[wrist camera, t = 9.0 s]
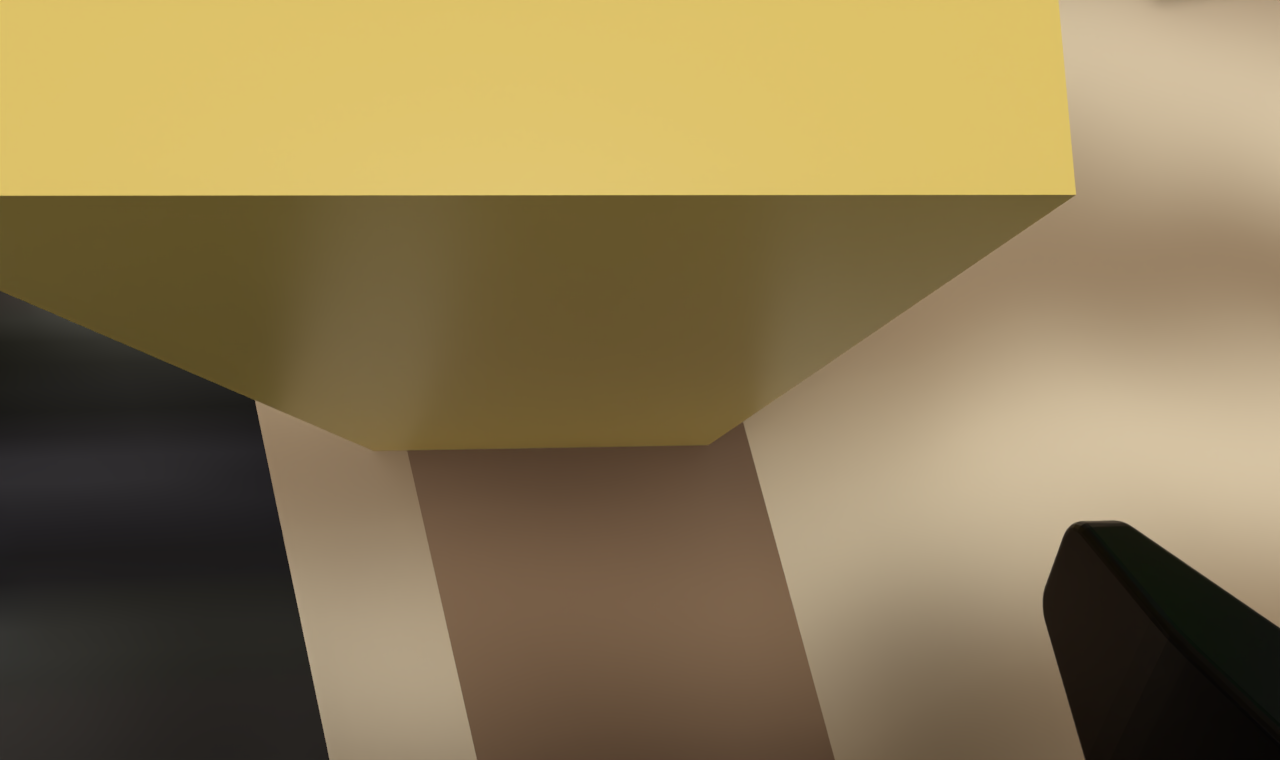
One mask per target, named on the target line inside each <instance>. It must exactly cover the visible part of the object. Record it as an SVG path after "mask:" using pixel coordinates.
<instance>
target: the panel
mask: <svg viewBox="0 0 1280 760" xmlns="http://www.w3.org/2000/svg"><path fill="white" fill-rule="evenodd" d="M1059 11H1060V22H1061V33H1062V44H1063V55H1064V66H1065V77H1066V88H1067V100H1068V111H1069V122H1070V133H1071V144H1072V155H1073V166H1074V177H1075V188H1076V195H1075V196H1074V197H1072V198H1071V199H1069V200H1068V201H1066V202H1065V203H1063V204H1062V205H1060V206H1059V207H1057V208H1056V209H1054V210H1053V211H1051V212H1050V213H1049V214H1047V215H1046V216H1044V217H1043V218H1041V219H1040V220H1038V221H1037V222H1035V223H1034V224H1032V225H1031V226H1029V227H1028V228H1027V229H1025V230H1024V231H1022V232H1021V233H1019V234H1018V235H1016V236H1015V237H1013V238H1012V239H1010V240H1009V241H1007V242H1006V243H1005V244H1003V245H1002V246H1000V247H999V248H997V249H996V250H994V251H993V252H991V253H990V254H988V255H987V256H985V257H984V258H982V259H981V260H980V261H978V262H977V263H975V264H974V265H972V266H971V267H969V268H968V269H966V270H965V271H963V272H962V273H960V274H959V275H958V276H956V277H955V278H953V279H952V280H950V281H949V282H947V283H946V284H944V285H943V286H941V287H940V288H938V289H937V290H936V291H934V292H933V293H931V294H930V295H928V296H927V297H925V298H924V299H922V300H921V301H919V302H918V303H916V304H915V305H913V306H912V307H911V308H909V309H908V310H906V311H905V312H903V313H902V314H900V315H899V316H897V317H896V318H894V319H893V320H891V321H890V322H889V323H887V324H886V325H884V326H883V327H881V328H880V329H878V330H877V331H875V332H874V333H872V334H871V335H869V336H868V337H867V338H865V339H864V340H862V341H861V342H859V343H858V344H856V345H855V346H853V347H852V348H850V349H849V350H847V351H846V352H844V353H843V354H842V355H840V356H839V357H837V358H836V359H834V360H833V361H831V362H830V363H828V364H827V365H825V366H824V367H822V368H821V369H820V370H818V371H817V372H815V373H814V374H812V375H811V376H809V377H808V378H806V379H805V380H803V381H802V382H800V383H799V384H798V385H796V386H795V387H793V388H792V389H790V390H789V391H787V392H786V393H784V394H783V395H781V396H780V397H778V398H777V399H775V400H774V401H773V402H771V403H770V404H768V405H767V406H765V407H764V408H762V409H761V410H759V411H758V412H756V413H755V414H753V415H752V416H751V417H749V418H748V419H746V420H745V421H743V422H742V423H740V424H739V425H737V426H736V427H734V428H733V429H731V430H730V431H729V432H727V433H726V434H724V435H723V436H721V437H720V438H718V439H717V440H715V441H714V442H712V443H711V444H709V445H691V446H634V447H576V448H518V449H460V450H402V451H372V450H370V449H368V448H365V447H363V446H361V445H358V444H356V443H354V442H351V441H349V440H347V439H344V438H342V437H340V436H337V435H335V434H333V433H330V432H328V431H326V430H324V429H321V428H319V427H317V426H314V425H312V424H310V423H307V422H305V421H303V420H300V419H298V418H296V417H293V416H291V415H289V414H286V413H284V412H282V411H279V410H277V409H275V408H272V407H270V406H268V405H265V404H263V403H261V402H258V401H256V400H255V403H256V408H257V413H258V417H259V422H260V427H261V432H262V437H263V441H264V446H265V451H266V456H267V461H268V466H269V470H270V475H271V480H272V485H273V490H274V494H275V499H276V504H277V509H278V514H279V519H280V523H281V528H282V533H283V538H284V543H285V548H286V552H287V557H288V562H289V567H290V572H291V576H292V581H293V586H294V591H295V596H296V601H297V605H298V610H299V615H300V620H301V625H302V629H303V634H304V639H305V644H306V649H307V654H308V658H309V663H310V668H311V673H312V678H313V682H314V687H315V692H316V697H317V702H318V707H319V711H320V716H321V721H322V726H323V731H324V736H325V740H326V745H327V750H328V755H329V760H1085V758H1084V755H1083V751H1082V748H1081V744H1080V741H1079V738H1078V734H1077V731H1076V727H1075V724H1074V720H1073V717H1072V713H1071V710H1070V706H1069V703H1068V700H1067V696H1066V693H1065V689H1064V686H1063V682H1062V679H1061V675H1060V672H1059V669H1058V665H1057V662H1056V658H1055V655H1054V651H1053V648H1052V644H1051V641H1050V637H1049V634H1048V631H1047V627H1046V624H1045V620H1044V615H1043V602H1042V600H1043V592H1044V588H1045V585H1046V582H1047V580H1048V577H1049V574H1050V571H1051V568H1052V566H1053V563H1054V560H1055V557H1056V555H1057V552H1058V549H1059V546H1060V544H1061V541H1062V538H1063V536H1064V533H1065V531H1066V529H1067V528H1068V527H1069V526H1070V525H1072V524H1073V523H1075V522H1078V521H1103V520H1116V521H1122V522H1125V523H1127V524H1129V525H1131V526H1132V527H1134V528H1135V529H1137V530H1138V531H1140V532H1141V533H1143V534H1144V535H1146V536H1147V537H1148V538H1150V539H1151V540H1153V541H1154V542H1156V543H1157V544H1159V545H1160V546H1162V547H1163V548H1165V549H1166V550H1167V551H1169V552H1170V553H1172V554H1173V555H1175V556H1176V557H1178V558H1179V559H1181V560H1182V561H1183V562H1185V563H1186V564H1188V565H1189V566H1191V567H1192V568H1194V569H1195V570H1197V571H1198V572H1200V573H1201V574H1202V575H1204V576H1205V577H1207V578H1208V579H1210V580H1211V581H1213V582H1214V583H1216V584H1217V585H1218V586H1220V587H1221V588H1223V589H1224V590H1226V591H1227V592H1229V593H1230V594H1232V595H1233V596H1234V597H1236V598H1237V599H1239V600H1240V601H1242V602H1243V603H1245V604H1246V605H1248V606H1249V607H1251V608H1252V609H1253V610H1255V611H1256V612H1258V613H1259V614H1261V615H1262V616H1264V617H1265V618H1267V619H1268V620H1269V621H1271V622H1272V623H1274V624H1275V625H1277V626H1278V627H1280V0H1059Z"/></svg>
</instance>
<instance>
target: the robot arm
mask: <svg viewBox="0 0 1280 760" xmlns="http://www.w3.org/2000/svg"><path fill="white" fill-rule="evenodd" d="M1042 602H1043V615H1044V620H1045V624H1046V627H1047V631H1048V634H1049V637H1050V641H1051V644H1052V648H1053V651H1054V655H1055V658H1056V662H1057V665H1058V669H1059V672H1060V675H1061V679H1062V682H1063V686H1064V689H1065V693H1066V696H1067V700H1068V703H1069V706H1070V710H1071V713H1072V717H1073V720H1074V724H1075V727H1076V731H1077V734H1078V738H1079V741H1080V744H1081V748H1082V751H1083V755H1084V758H1085V760H1280V627H1278V626H1277V625H1275V624H1274V623H1272V622H1271V621H1269V620H1268V619H1267V618H1265V617H1264V616H1262V615H1261V614H1259V613H1258V612H1256V611H1255V610H1253V609H1252V608H1251V607H1249V606H1248V605H1246V604H1245V603H1243V602H1242V601H1240V600H1239V599H1237V598H1236V597H1234V596H1233V595H1232V594H1230V593H1229V592H1227V591H1226V590H1224V589H1223V588H1221V587H1220V586H1218V585H1217V584H1216V583H1214V582H1213V581H1211V580H1210V579H1208V578H1207V577H1205V576H1204V575H1202V574H1201V573H1200V572H1198V571H1197V570H1195V569H1194V568H1192V567H1191V566H1189V565H1188V564H1186V563H1185V562H1183V561H1182V560H1181V559H1179V558H1178V557H1176V556H1175V555H1173V554H1172V553H1170V552H1169V551H1167V550H1166V549H1165V548H1163V547H1162V546H1160V545H1159V544H1157V543H1156V542H1154V541H1153V540H1151V539H1150V538H1148V537H1147V536H1146V535H1144V534H1143V533H1141V532H1140V531H1138V530H1137V529H1135V528H1134V527H1132V526H1131V525H1129V524H1127V523H1125V522H1122V521H1116V520H1103V521H1078V522H1075V523H1073V524H1072V525H1070V526H1069V527H1068V528H1067V529H1066V531H1065V533H1064V536H1063V538H1062V541H1061V544H1060V546H1059V549H1058V552H1057V555H1056V557H1055V560H1054V563H1053V566H1052V568H1051V571H1050V574H1049V577H1048V580H1047V582H1046V585H1045V588H1044V592H1043V600H1042Z"/></svg>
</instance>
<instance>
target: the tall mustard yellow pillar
mask: <svg viewBox="0 0 1280 760" xmlns="http://www.w3.org/2000/svg"><path fill="white" fill-rule="evenodd" d="M1075 195H1076V188H1075V177H1074V166H1073V155H1072V144H1071V133H1070V122H1069V111H1068V100H1067V88H1066V77H1065V66H1064V55H1063V44H1062V33H1061V22H1060V11H1059V0H0V291H2V292H4V293H7V294H9V295H11V296H14V297H16V298H18V299H21V300H23V301H25V302H28V303H30V304H32V305H35V306H37V307H39V308H42V309H44V310H46V311H49V312H51V313H53V314H56V315H58V316H60V317H62V318H65V319H67V320H69V321H72V322H74V323H76V324H79V325H81V326H83V327H86V328H88V329H90V330H93V331H95V332H97V333H100V334H102V335H104V336H107V337H109V338H111V339H114V340H116V341H118V342H121V343H123V344H125V345H128V346H130V347H132V348H135V349H137V350H139V351H142V352H144V353H146V354H149V355H151V356H153V357H156V358H158V359H160V360H163V361H165V362H167V363H170V364H172V365H174V366H177V367H179V368H181V369H184V370H186V371H188V372H191V373H193V374H195V375H198V376H200V377H202V378H205V379H207V380H209V381H212V382H214V383H216V384H219V385H221V386H223V387H226V388H228V389H230V390H233V391H235V392H237V393H240V394H242V395H244V396H247V397H249V398H251V399H254V400H256V401H258V402H261V403H263V404H265V405H268V406H270V407H272V408H275V409H277V410H279V411H282V412H284V413H286V414H289V415H291V416H293V417H296V418H298V419H300V420H303V421H305V422H307V423H310V424H312V425H314V426H317V427H319V428H321V429H324V430H326V431H328V432H330V433H333V434H335V435H337V436H340V437H342V438H344V439H347V440H349V441H351V442H354V443H356V444H358V445H361V446H363V447H365V448H368V449H370V450H372V451H402V450H460V449H518V448H576V447H634V446H691V445H709V444H711V443H712V442H714V441H715V440H717V439H718V438H720V437H721V436H723V435H724V434H726V433H727V432H729V431H730V430H731V429H733V428H734V427H736V426H737V425H739V424H740V423H742V422H743V421H745V420H746V419H748V418H749V417H751V416H752V415H753V414H755V413H756V412H758V411H759V410H761V409H762V408H764V407H765V406H767V405H768V404H770V403H771V402H773V401H774V400H775V399H777V398H778V397H780V396H781V395H783V394H784V393H786V392H787V391H789V390H790V389H792V388H793V387H795V386H796V385H798V384H799V383H800V382H802V381H803V380H805V379H806V378H808V377H809V376H811V375H812V374H814V373H815V372H817V371H818V370H820V369H821V368H822V367H824V366H825V365H827V364H828V363H830V362H831V361H833V360H834V359H836V358H837V357H839V356H840V355H842V354H843V353H844V352H846V351H847V350H849V349H850V348H852V347H853V346H855V345H856V344H858V343H859V342H861V341H862V340H864V339H865V338H867V337H868V336H869V335H871V334H872V333H874V332H875V331H877V330H878V329H880V328H881V327H883V326H884V325H886V324H887V323H889V322H890V321H891V320H893V319H894V318H896V317H897V316H899V315H900V314H902V313H903V312H905V311H906V310H908V309H909V308H911V307H912V306H913V305H915V304H916V303H918V302H919V301H921V300H922V299H924V298H925V297H927V296H928V295H930V294H931V293H933V292H934V291H936V290H937V289H938V288H940V287H941V286H943V285H944V284H946V283H947V282H949V281H950V280H952V279H953V278H955V277H956V276H958V275H959V274H960V273H962V272H963V271H965V270H966V269H968V268H969V267H971V266H972V265H974V264H975V263H977V262H978V261H980V260H981V259H982V258H984V257H985V256H987V255H988V254H990V253H991V252H993V251H994V250H996V249H997V248H999V247H1000V246H1002V245H1003V244H1005V243H1006V242H1007V241H1009V240H1010V239H1012V238H1013V237H1015V236H1016V235H1018V234H1019V233H1021V232H1022V231H1024V230H1025V229H1027V228H1028V227H1029V226H1031V225H1032V224H1034V223H1035V222H1037V221H1038V220H1040V219H1041V218H1043V217H1044V216H1046V215H1047V214H1049V213H1050V212H1051V211H1053V210H1054V209H1056V208H1057V207H1059V206H1060V205H1062V204H1063V203H1065V202H1066V201H1068V200H1069V199H1071V198H1072V197H1074V196H1075Z"/></svg>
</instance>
